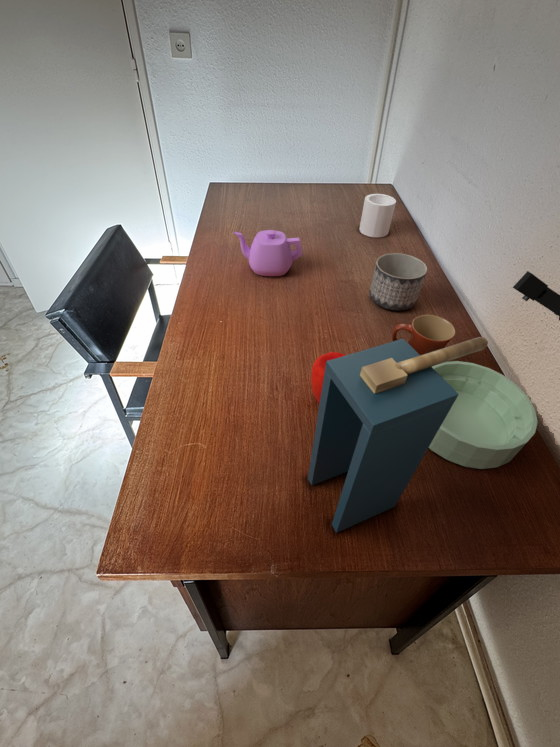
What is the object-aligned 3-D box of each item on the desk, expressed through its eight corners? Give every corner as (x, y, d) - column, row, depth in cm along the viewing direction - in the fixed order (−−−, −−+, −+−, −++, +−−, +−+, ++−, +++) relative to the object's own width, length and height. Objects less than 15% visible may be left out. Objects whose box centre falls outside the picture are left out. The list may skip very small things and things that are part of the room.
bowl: (542, 447, 69) (564, 425, 64) (455, 488, 63) (472, 466, 58) (464, 373, 82) (477, 350, 77) (385, 401, 76) (394, 377, 71)
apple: (342, 423, 72) (351, 386, 64) (301, 407, 74) (304, 369, 66) (356, 393, 77) (366, 355, 69) (318, 378, 80) (323, 340, 72)
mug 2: (369, 218, 137) (375, 188, 129) (396, 225, 133) (403, 195, 126) (354, 232, 129) (359, 200, 121) (381, 240, 125) (389, 208, 118)
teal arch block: (395, 506, 60) (459, 394, 40) (336, 533, 57) (373, 425, 37) (362, 456, 67) (403, 338, 46) (307, 478, 63) (326, 361, 43)
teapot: (237, 255, 116) (235, 219, 108) (301, 257, 116) (303, 222, 108) (232, 278, 107) (230, 241, 99) (302, 280, 107) (304, 243, 99)
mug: (438, 353, 86) (453, 318, 79) (440, 379, 80) (457, 344, 73) (385, 344, 88) (396, 309, 81) (384, 369, 82) (395, 334, 75)
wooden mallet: (473, 339, 47) (478, 329, 45) (491, 354, 45) (497, 344, 44) (359, 375, 42) (362, 365, 41) (374, 394, 40) (377, 384, 39)
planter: (371, 283, 106) (378, 249, 99) (416, 291, 104) (427, 257, 97) (365, 308, 98) (373, 273, 90) (414, 317, 96) (427, 282, 88)
